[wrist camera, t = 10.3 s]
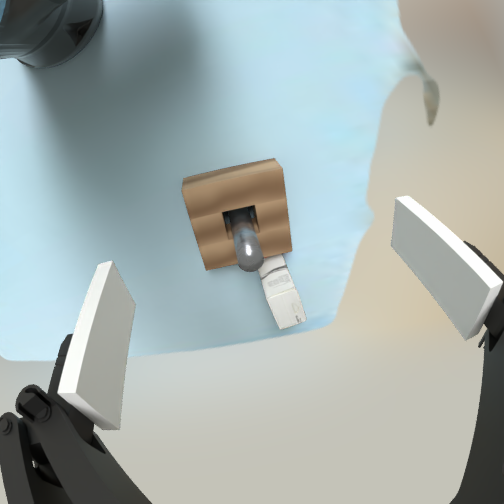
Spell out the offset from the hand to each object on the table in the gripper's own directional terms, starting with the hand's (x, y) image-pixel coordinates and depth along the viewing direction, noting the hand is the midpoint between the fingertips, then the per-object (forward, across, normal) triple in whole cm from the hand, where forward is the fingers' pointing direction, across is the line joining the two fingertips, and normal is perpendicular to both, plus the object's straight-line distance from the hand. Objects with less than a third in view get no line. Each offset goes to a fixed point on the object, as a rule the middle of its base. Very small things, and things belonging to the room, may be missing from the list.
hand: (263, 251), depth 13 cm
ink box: (+33, +4, -27) cm, 43 cm away
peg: (+33, 0, -14) cm, 36 cm away
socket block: (+33, 0, -14) cm, 36 cm away
